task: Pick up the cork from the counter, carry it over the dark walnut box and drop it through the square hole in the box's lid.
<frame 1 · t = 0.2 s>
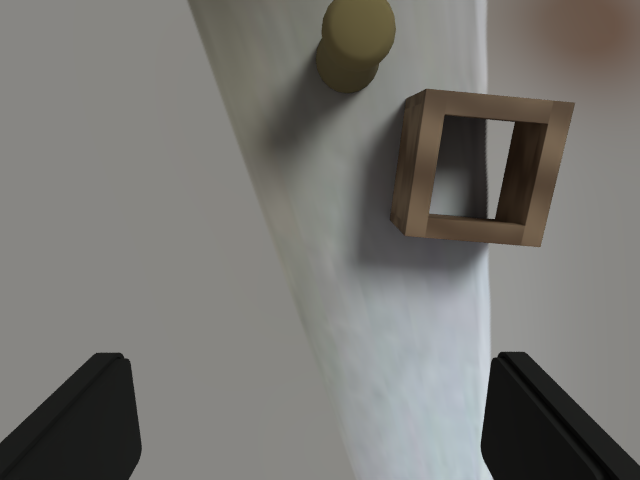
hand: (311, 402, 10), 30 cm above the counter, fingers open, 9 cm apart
box: (456, 166, 38), on the counter
cork: (347, 59, 36), on the counter
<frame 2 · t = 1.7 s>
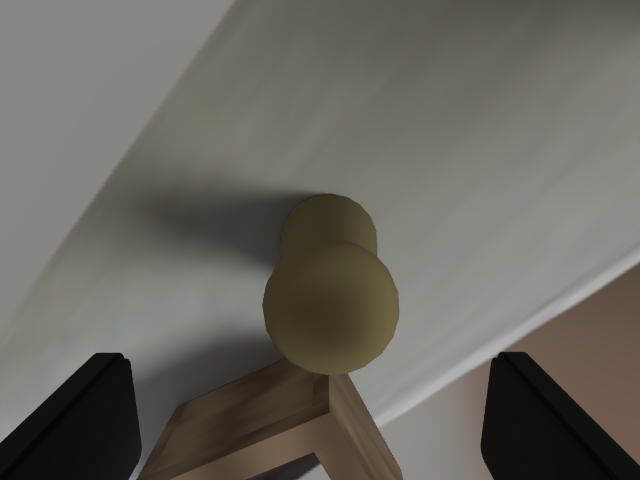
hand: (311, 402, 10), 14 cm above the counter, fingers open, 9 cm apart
box: (291, 439, 27), on the counter
cork: (328, 241, 24), on the counter
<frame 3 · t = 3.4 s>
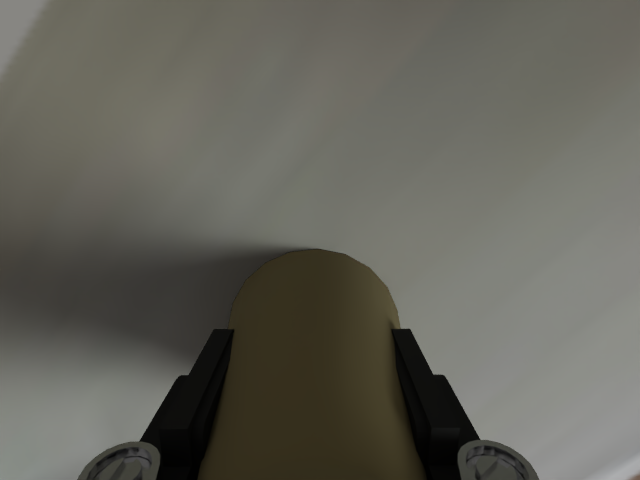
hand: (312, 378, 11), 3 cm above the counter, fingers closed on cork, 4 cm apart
cork: (314, 328, 14), on the counter, touching gripper
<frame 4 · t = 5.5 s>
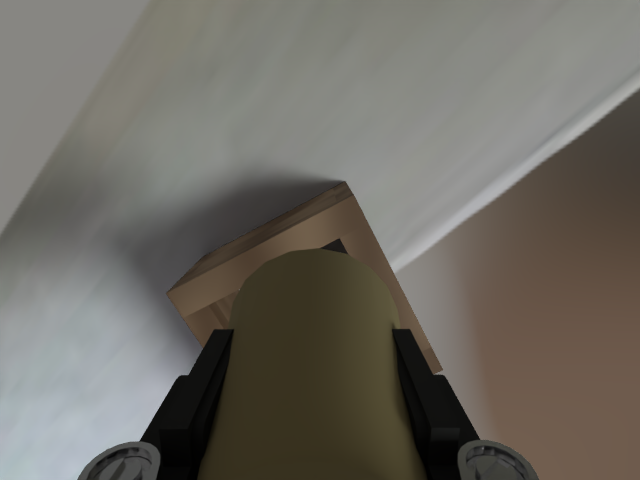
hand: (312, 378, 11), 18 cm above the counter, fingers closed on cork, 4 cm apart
box: (311, 287, 29), on the counter
cork: (314, 327, 14), point 15 cm above the counter, touching gripper
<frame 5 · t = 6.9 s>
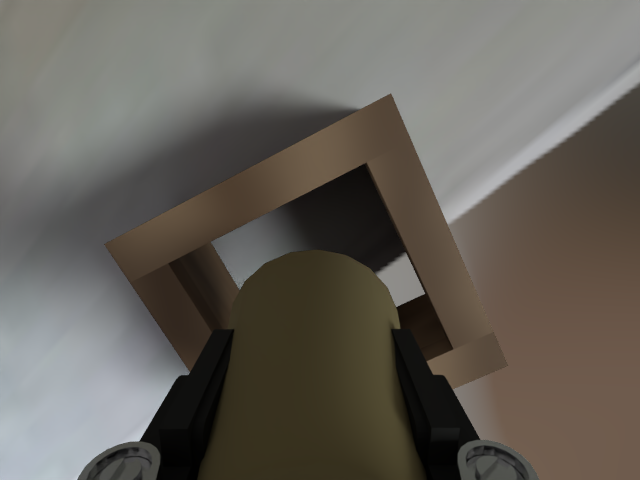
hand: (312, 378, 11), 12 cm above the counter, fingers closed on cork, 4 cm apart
box: (316, 256, 22), on the counter
cork: (314, 328, 14), point 9 cm above the counter, touching gripper
when the fingers open (9 cm above the counter, at t = 7.7 s): cork drops 5 cm, resting in box.
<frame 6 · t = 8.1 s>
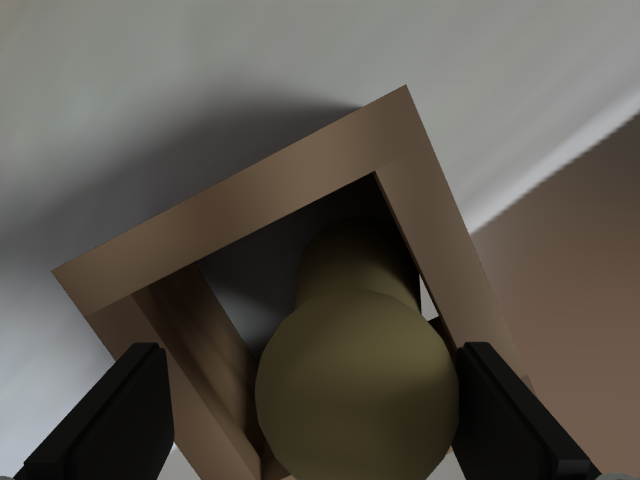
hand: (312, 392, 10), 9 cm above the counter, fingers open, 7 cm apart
box: (313, 275, 19), on the counter
cork: (357, 275, 19), resting in box
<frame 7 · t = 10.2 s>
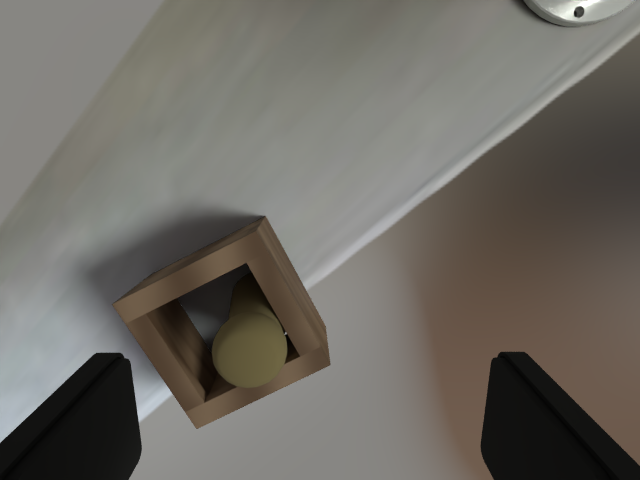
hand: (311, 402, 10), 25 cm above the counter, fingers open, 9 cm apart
box: (239, 301, 36), on the counter
cork: (263, 300, 36), resting in box
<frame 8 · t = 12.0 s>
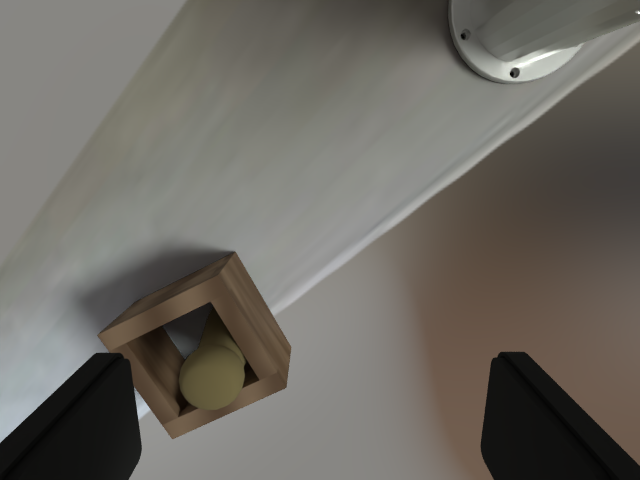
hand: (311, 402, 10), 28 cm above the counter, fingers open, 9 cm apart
box: (214, 325, 40), on the counter
cork: (236, 323, 40), resting in box
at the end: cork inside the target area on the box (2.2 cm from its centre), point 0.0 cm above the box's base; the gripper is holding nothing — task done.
